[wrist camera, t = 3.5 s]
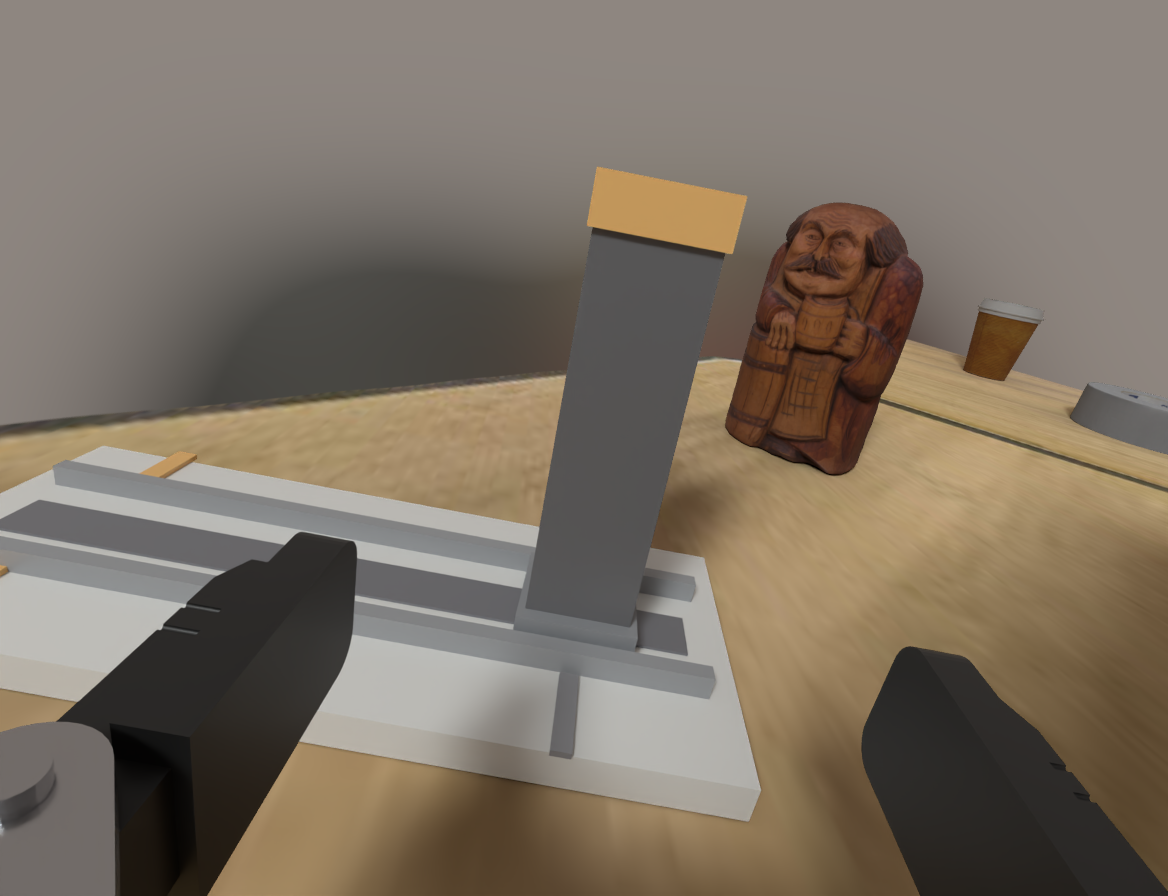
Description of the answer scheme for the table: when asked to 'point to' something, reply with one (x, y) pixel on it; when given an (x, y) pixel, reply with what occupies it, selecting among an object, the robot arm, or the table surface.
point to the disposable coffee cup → (1000, 337)
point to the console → (383, 628)
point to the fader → (624, 400)
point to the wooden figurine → (826, 337)
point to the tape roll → (1124, 415)
